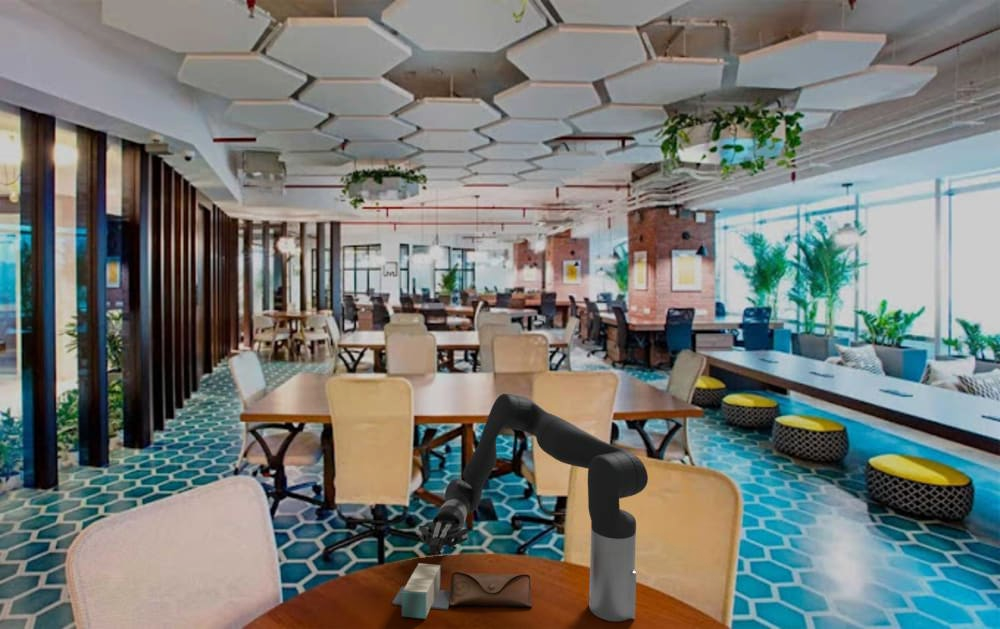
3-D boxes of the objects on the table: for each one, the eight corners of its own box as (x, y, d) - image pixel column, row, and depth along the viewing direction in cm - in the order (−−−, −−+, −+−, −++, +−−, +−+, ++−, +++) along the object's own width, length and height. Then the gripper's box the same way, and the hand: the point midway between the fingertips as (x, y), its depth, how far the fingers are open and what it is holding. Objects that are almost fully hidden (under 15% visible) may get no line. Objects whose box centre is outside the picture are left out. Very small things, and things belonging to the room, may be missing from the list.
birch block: (440, 565, 123) (425, 594, 111) (440, 587, 123) (425, 618, 111) (418, 563, 124) (401, 592, 112) (418, 585, 124) (401, 616, 112)
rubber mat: (454, 593, 122) (454, 591, 122) (447, 609, 115) (447, 608, 115) (401, 588, 123) (401, 586, 123) (392, 604, 117) (392, 602, 117)
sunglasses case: (449, 606, 115) (450, 570, 118) (449, 606, 121) (451, 572, 124) (534, 607, 116) (534, 572, 119) (530, 607, 122) (530, 574, 125)
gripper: (426, 502, 146) (406, 531, 128) (475, 506, 144) (462, 536, 127) (425, 530, 146) (406, 563, 129) (475, 534, 144) (461, 568, 127)
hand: (434, 549), depth 128 cm, fingers closed
